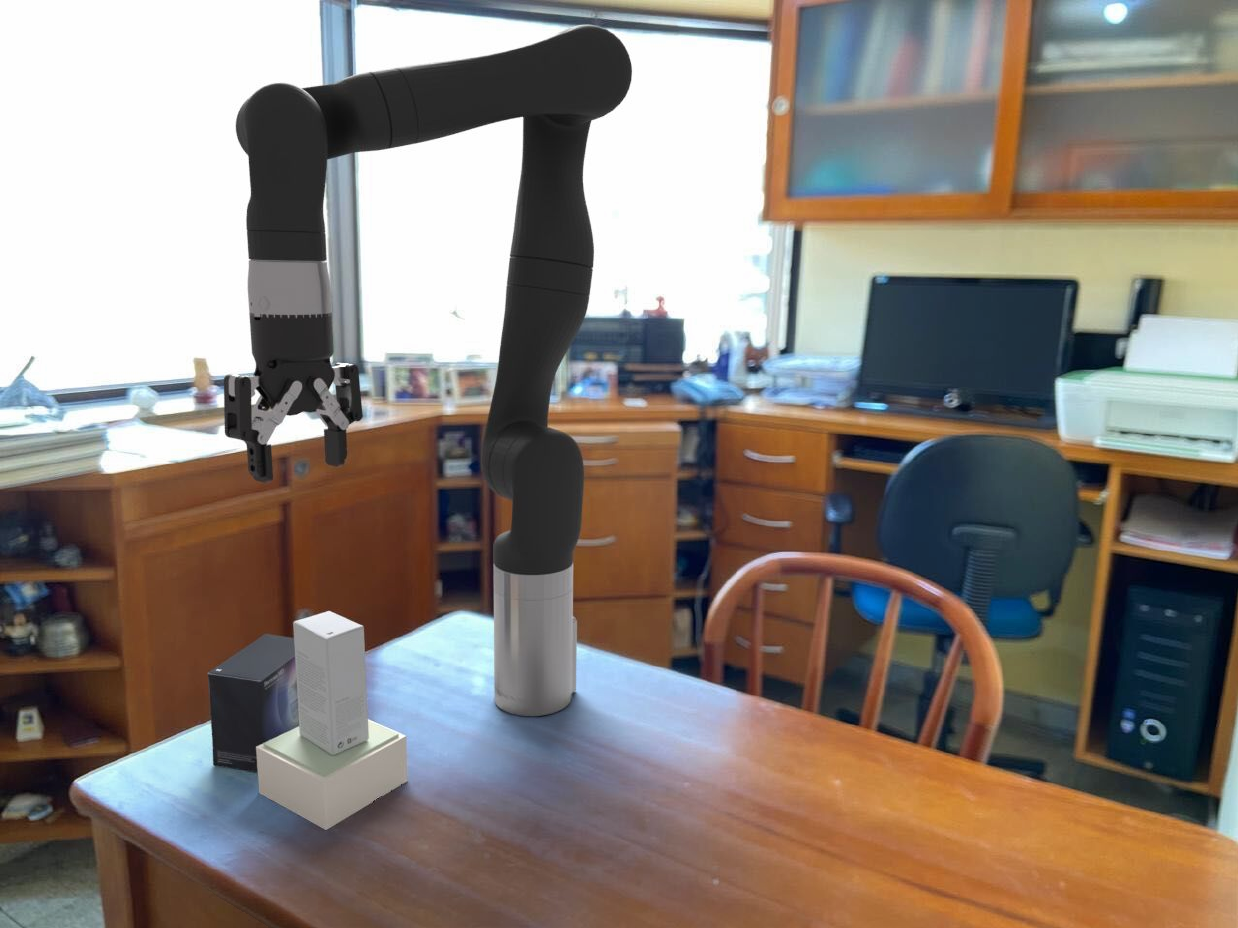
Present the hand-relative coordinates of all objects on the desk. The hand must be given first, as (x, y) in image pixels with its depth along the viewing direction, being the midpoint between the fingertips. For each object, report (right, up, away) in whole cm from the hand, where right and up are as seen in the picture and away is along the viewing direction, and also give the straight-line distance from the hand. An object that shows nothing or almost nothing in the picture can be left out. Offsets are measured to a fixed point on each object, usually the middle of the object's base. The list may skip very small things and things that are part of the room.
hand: (300, 472), depth 92 cm
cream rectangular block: (+4, -31, -1) cm, 31 cm away
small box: (-6, -30, +7) cm, 31 cm away
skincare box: (+4, -26, -2) cm, 27 cm away
